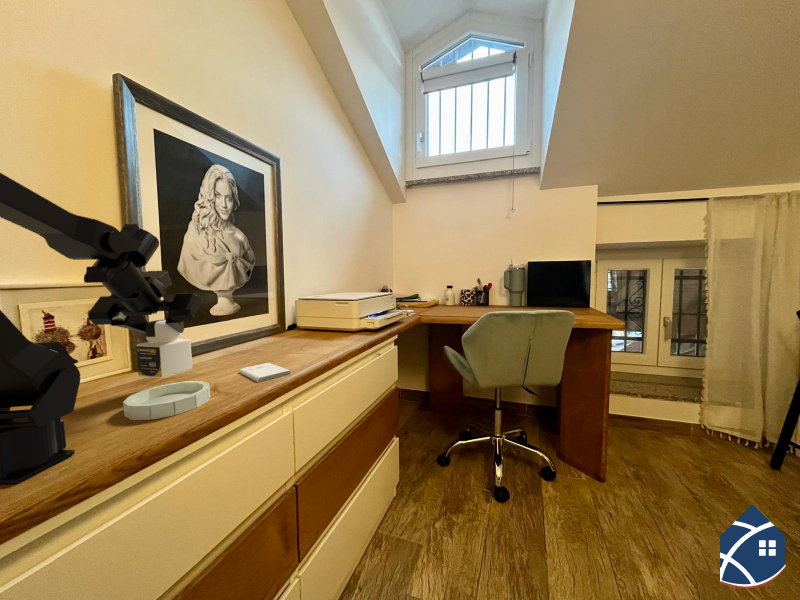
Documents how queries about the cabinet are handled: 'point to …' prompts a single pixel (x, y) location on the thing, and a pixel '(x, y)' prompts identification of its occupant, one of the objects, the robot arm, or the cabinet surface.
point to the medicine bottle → (163, 351)
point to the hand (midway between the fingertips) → (167, 331)
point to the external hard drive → (264, 372)
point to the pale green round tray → (166, 400)
